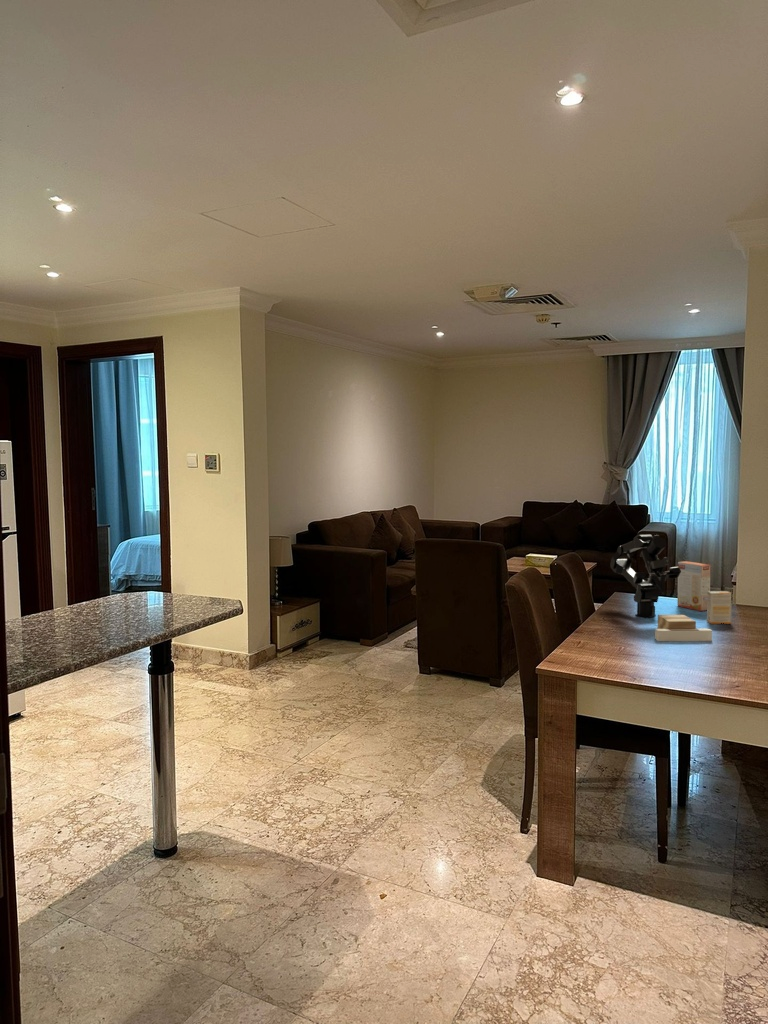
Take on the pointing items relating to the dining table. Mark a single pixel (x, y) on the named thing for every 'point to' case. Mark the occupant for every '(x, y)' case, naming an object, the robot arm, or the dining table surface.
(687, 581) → the cracker box
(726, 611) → the supplement box
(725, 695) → the dining table surface
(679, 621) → the oak block
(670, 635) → the cream board
